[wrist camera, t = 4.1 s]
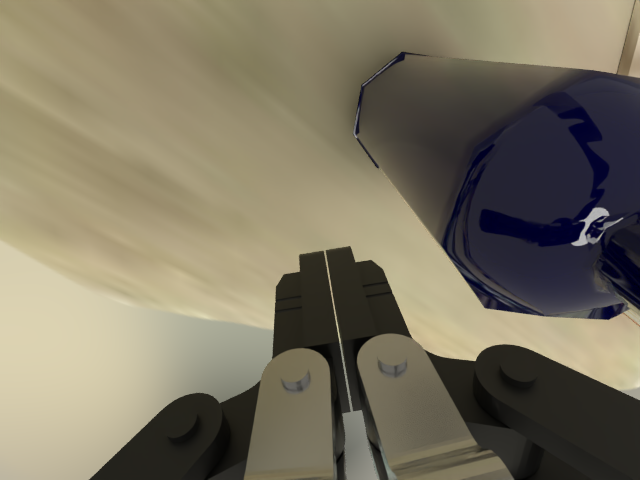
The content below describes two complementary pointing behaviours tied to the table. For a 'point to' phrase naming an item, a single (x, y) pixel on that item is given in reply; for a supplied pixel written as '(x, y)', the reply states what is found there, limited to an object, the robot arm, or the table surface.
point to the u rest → (632, 46)
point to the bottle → (516, 176)
